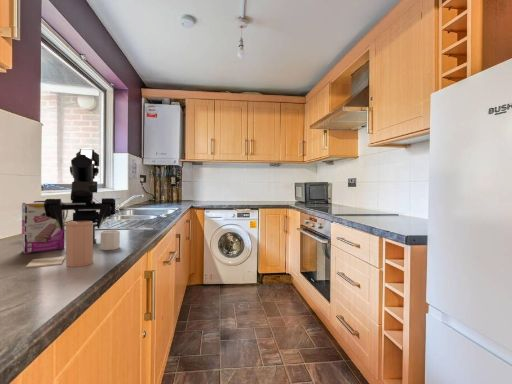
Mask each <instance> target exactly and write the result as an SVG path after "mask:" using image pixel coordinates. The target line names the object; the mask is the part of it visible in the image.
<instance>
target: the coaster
mask: <svg viewBox="0 0 512 384" xmlns="http://www.w3.org/2000/svg"><path fill="white" fill-rule="evenodd" d="M64 260H66V256H56V257H55V256H54V257H46V258H45V257H43V258H35V259H34V258H32V260H31V261H30V262H28V264H27V265H26V266H25V268H26V269H29V268H39V267H49V266H50V267H51V266H57V265H63V263H64Z"/></svg>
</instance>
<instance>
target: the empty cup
mask: <svg viewBox="0 0 512 384" xmlns="http://www.w3.org/2000/svg"><path fill="white" fill-rule="evenodd" d="M120 234H121V233H120V230H118V229H107V230H106V229H105V230H102V231H101V230H100V250H101V251H102V250H103V251H111V250H117V249H120V247H121V246H120V242H121V241H120V237H121V235H120Z"/></svg>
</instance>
